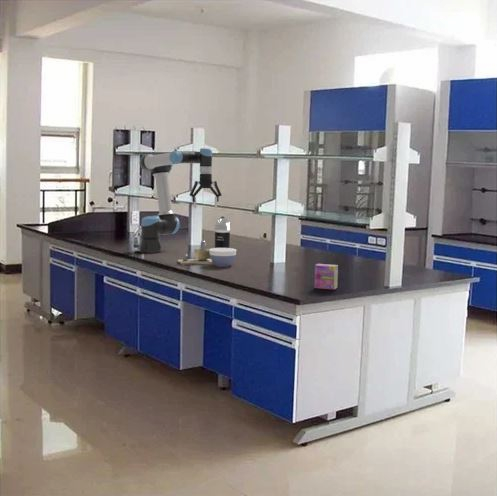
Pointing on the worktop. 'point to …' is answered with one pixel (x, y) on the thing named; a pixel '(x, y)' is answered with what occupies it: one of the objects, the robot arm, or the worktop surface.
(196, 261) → the birch board
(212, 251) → the bowl
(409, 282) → the worktop surface
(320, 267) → the box
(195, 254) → the brass collar
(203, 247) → the tall steel post
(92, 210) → the worktop surface
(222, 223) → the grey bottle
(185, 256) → the short steel post
